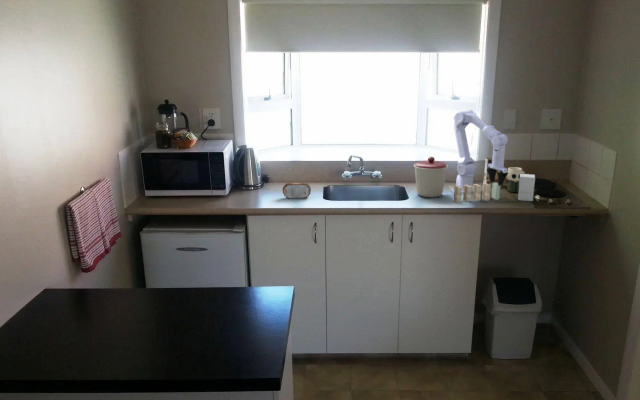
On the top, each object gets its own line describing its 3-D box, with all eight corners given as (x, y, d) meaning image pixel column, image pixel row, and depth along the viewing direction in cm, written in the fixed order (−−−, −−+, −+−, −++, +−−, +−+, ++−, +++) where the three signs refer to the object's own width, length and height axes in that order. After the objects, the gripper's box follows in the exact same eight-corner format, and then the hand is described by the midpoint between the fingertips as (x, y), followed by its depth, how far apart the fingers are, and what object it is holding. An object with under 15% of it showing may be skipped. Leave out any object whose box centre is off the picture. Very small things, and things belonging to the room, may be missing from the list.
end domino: (491, 197, 274) (492, 182, 272) (494, 197, 275) (496, 182, 272) (495, 199, 270) (496, 184, 268) (499, 199, 270) (500, 184, 268)
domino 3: (472, 198, 271) (473, 184, 269) (475, 198, 272) (476, 183, 270) (476, 201, 267) (477, 186, 265) (480, 200, 268) (481, 185, 266)
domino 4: (481, 198, 273) (482, 183, 271) (485, 197, 273) (486, 183, 271) (486, 200, 269) (487, 185, 266) (489, 200, 269) (490, 185, 267)
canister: (423, 201, 268) (424, 161, 263) (406, 192, 285) (407, 155, 279) (453, 197, 274) (455, 158, 268) (435, 189, 290) (437, 152, 285)
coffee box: (485, 187, 294) (487, 159, 290) (483, 184, 300) (485, 157, 296) (501, 187, 293) (504, 159, 289) (499, 184, 299) (501, 157, 295)
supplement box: (532, 197, 272) (535, 174, 269) (532, 201, 265) (535, 177, 262) (517, 196, 275) (520, 173, 271) (517, 200, 268) (519, 176, 265)
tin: (310, 197, 279) (310, 181, 277) (311, 198, 276) (310, 183, 274) (282, 197, 278) (282, 182, 276) (282, 199, 275) (282, 184, 273)
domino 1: (453, 200, 269) (454, 185, 267) (456, 200, 269) (457, 185, 267) (457, 202, 265) (458, 187, 263) (461, 202, 265) (462, 187, 263)
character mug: (505, 193, 281) (508, 170, 277) (500, 190, 288) (502, 167, 284) (525, 193, 282) (527, 169, 278) (520, 189, 288) (522, 166, 285)
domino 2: (462, 199, 270) (463, 184, 268) (466, 199, 271) (467, 184, 268) (467, 202, 266) (468, 186, 264) (470, 201, 266) (471, 186, 264)
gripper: (483, 155, 272) (481, 180, 276) (499, 161, 259) (497, 187, 262) (495, 155, 274) (493, 179, 278) (511, 160, 260) (509, 186, 264)
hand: (496, 183), depth 270 cm, fingers open, 7 cm apart
